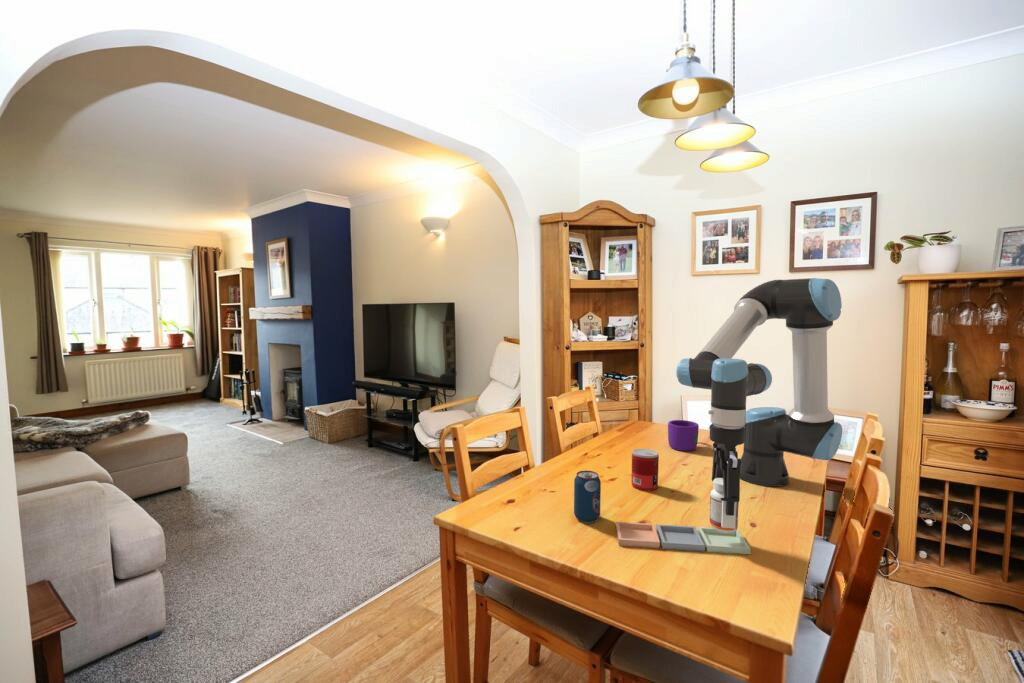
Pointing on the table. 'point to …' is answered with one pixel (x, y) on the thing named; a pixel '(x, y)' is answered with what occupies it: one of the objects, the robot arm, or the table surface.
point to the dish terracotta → (637, 535)
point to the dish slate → (680, 537)
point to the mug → (683, 435)
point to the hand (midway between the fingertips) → (723, 520)
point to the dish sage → (723, 541)
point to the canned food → (645, 469)
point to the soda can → (587, 496)
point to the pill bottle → (719, 507)
